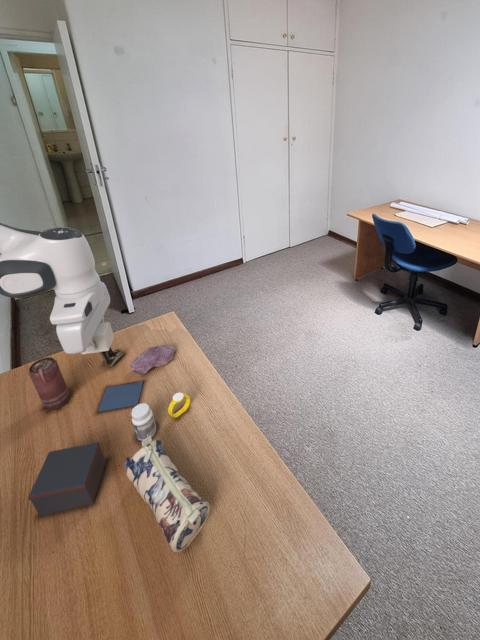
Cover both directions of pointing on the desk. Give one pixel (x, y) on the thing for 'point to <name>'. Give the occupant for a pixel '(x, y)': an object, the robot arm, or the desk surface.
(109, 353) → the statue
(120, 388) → the mat
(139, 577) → the desk surface
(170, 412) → the watch
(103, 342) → the small box
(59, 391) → the can
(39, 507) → the storage box
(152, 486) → the pencil case
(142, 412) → the pill bottle
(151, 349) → the fossil
